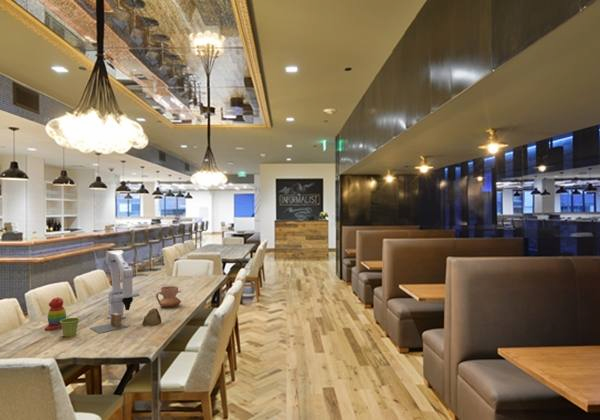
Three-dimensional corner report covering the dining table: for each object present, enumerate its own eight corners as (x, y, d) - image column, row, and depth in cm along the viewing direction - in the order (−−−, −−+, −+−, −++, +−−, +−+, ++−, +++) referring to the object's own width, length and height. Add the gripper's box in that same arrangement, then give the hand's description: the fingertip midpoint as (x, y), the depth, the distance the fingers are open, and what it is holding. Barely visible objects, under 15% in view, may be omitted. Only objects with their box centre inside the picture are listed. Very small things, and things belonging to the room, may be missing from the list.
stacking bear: (48, 325, 226) (49, 296, 226) (68, 323, 229) (68, 295, 229) (43, 331, 216) (43, 300, 216) (63, 329, 219) (63, 299, 219)
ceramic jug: (183, 303, 280) (183, 284, 280) (179, 308, 266) (179, 288, 266) (158, 304, 278) (158, 285, 278) (153, 309, 263) (153, 289, 264)
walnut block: (111, 325, 225) (111, 313, 225) (116, 324, 228) (116, 312, 228) (115, 327, 221) (115, 315, 221) (121, 326, 224) (121, 314, 224)
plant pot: (75, 331, 215) (75, 316, 215) (82, 334, 209) (82, 319, 209) (57, 335, 208) (57, 320, 208) (63, 339, 202) (63, 323, 202)
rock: (137, 322, 225) (153, 320, 224) (141, 309, 230) (156, 307, 229) (146, 328, 233) (161, 327, 232) (149, 315, 239) (164, 314, 238)
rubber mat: (89, 328, 220) (89, 327, 220) (117, 322, 233) (117, 321, 233) (99, 333, 211) (99, 332, 211) (127, 326, 224) (127, 326, 224)
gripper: (118, 290, 222) (118, 313, 222) (141, 287, 233) (141, 308, 233) (113, 289, 227) (113, 311, 227) (136, 285, 238) (136, 306, 238)
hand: (127, 309), depth 230 cm, fingers closed
